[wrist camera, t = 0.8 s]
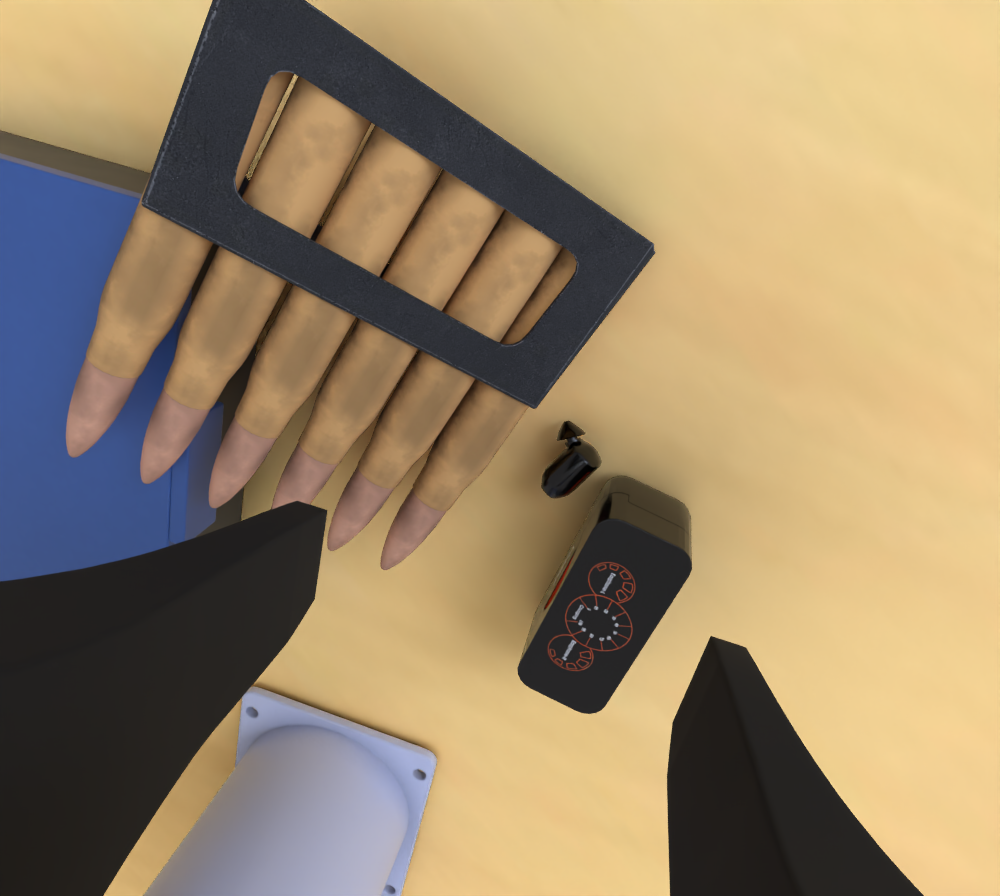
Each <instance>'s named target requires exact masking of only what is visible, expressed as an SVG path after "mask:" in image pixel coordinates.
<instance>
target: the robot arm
mask: <svg viewBox="0 0 1000 896" xmlns="http://www.w3.org/2000/svg"><path fill="white" fill-rule="evenodd" d="M326 516H327V510H325V509H321V508H318V507H315V506H312V505H309V504H306V503H303V502H300V501H294V502H291V503H288V504H285V505H282V506H279V507H277V508H274V509H271V510H269V511H266V512H263V513H261V514H258V515H256V516H253V517H250V518H248V519H245V520H243V521H240V522H237V523H234V524H232V525H229V526H226V527H224V528H221V529H218V530H216V531H213V532H210V533H207V534H205V535H202V536H199V537H196V538H192V539H189V540H186V541H183V542H180V543H177V544H174V545H171V546H168V547H165V548H161V549H158V550H155V551H152V552H148V553H145V554H141V555H138V556H134V557H130V558H126V559H122V560H118V561H114V562H109V563H105V564H101V565H97V566H92V567H87V568H82V569H77V570H71V571H65V572H59V573H53V574H47V575H41V576H35V577H29V578H23V579H16V580H8V581H0V896H103V895H104V893H105V892H106V890H107V889H108V887H109V885H110V884H111V882H112V881H113V879H114V877H115V876H116V874H117V872H118V871H119V869H120V868H121V866H122V864H123V863H124V861H125V860H126V858H127V856H128V855H129V853H130V852H131V850H132V849H133V847H134V845H135V844H136V842H137V841H138V839H139V838H140V836H141V835H142V833H143V832H144V830H145V829H146V827H147V825H148V824H149V822H150V821H151V819H152V818H153V816H154V815H155V813H156V812H157V810H158V809H159V807H160V805H161V804H162V802H163V801H164V799H165V798H166V797H167V795H168V794H169V792H170V791H171V789H172V788H173V786H174V785H175V783H176V782H177V780H178V779H179V777H180V776H181V774H182V773H183V772H184V770H185V769H186V767H187V766H188V764H189V763H190V761H191V760H192V758H193V757H194V755H195V754H196V753H197V751H198V750H199V749H200V748H201V746H202V745H203V744H204V742H205V741H206V740H207V738H208V737H209V736H210V735H211V733H212V732H213V731H214V730H215V728H216V727H217V726H218V725H219V724H220V723H221V721H222V720H223V719H224V718H225V717H226V715H227V714H228V713H229V712H230V711H231V709H232V708H233V707H234V706H235V705H236V704H237V702H238V701H239V700H240V699H241V698H242V704H241V714H240V724H239V733H238V743H237V753H236V762H235V769H234V770H233V771H232V773H231V774H230V776H229V777H228V778H227V780H226V781H225V783H224V784H223V785H222V787H221V788H220V789H219V791H218V792H217V794H216V795H215V796H214V798H213V799H212V801H211V802H210V803H209V805H208V806H207V808H206V809H205V810H204V812H203V813H202V814H201V816H200V817H199V819H198V820H197V821H196V823H195V824H194V826H193V827H192V828H191V830H190V831H189V833H188V834H187V835H186V837H185V838H184V839H183V841H182V842H181V844H180V845H179V846H178V848H177V849H176V851H175V852H174V853H173V855H172V856H171V857H170V859H169V860H168V862H167V863H166V864H165V866H164V867H163V869H162V870H161V871H160V873H159V874H158V876H157V877H156V878H155V880H154V881H153V882H152V884H151V885H150V887H149V888H148V889H147V891H146V892H145V894H144V895H143V896H401V894H402V890H403V886H404V883H405V879H406V875H407V872H408V868H409V864H410V861H411V857H412V853H413V850H414V846H415V842H416V838H417V835H418V831H419V827H420V824H421V820H422V816H423V813H424V809H425V805H426V802H427V798H428V794H429V790H430V787H431V783H432V779H433V776H434V772H435V768H436V765H437V758H436V756H435V755H434V754H433V753H432V752H431V751H429V750H428V749H425V748H422V747H420V746H417V745H414V744H411V743H409V742H406V741H403V740H401V739H398V738H395V737H392V736H390V735H387V734H384V733H382V732H379V731H376V730H373V729H371V728H368V727H365V726H363V725H360V724H357V723H354V722H352V721H349V720H346V719H344V718H341V717H338V716H335V715H333V714H330V713H327V712H325V711H322V710H319V709H316V708H314V707H311V706H308V705H306V704H303V703H300V702H297V701H295V700H292V699H289V698H287V697H284V696H281V695H278V694H276V693H273V692H270V691H268V690H265V689H262V688H259V687H251V686H252V685H253V683H254V682H255V681H256V680H257V679H258V677H259V676H260V675H261V674H262V673H263V671H264V670H265V669H266V668H267V667H268V665H269V664H270V663H271V662H272V661H273V659H274V658H275V657H276V656H277V655H278V653H279V652H280V651H281V650H282V648H283V647H284V646H285V645H286V643H287V642H288V641H289V639H290V638H291V636H292V635H293V633H294V631H295V630H296V628H297V627H298V625H299V624H300V622H301V621H302V619H303V617H304V616H305V614H306V612H307V611H308V609H309V607H310V606H311V604H312V603H313V601H314V599H315V593H316V586H317V579H318V572H319V565H320V558H321V551H322V544H323V537H324V530H325V523H326ZM242 696H243V697H242ZM254 708H255V709H254ZM420 770H422V771H423V772H421V771H420ZM667 797H668V837H669V872H670V896H924V895H923V894H922V893H921V892H920V891H919V890H918V889H917V888H916V887H915V886H914V885H913V884H912V883H911V882H910V880H909V879H908V878H907V877H906V876H905V875H904V874H903V873H902V872H901V871H900V870H899V868H898V867H897V866H896V865H895V864H894V863H893V862H892V861H891V859H890V858H889V857H888V856H887V855H886V854H885V853H884V851H883V850H882V849H881V848H880V847H879V845H878V844H877V843H876V842H875V840H874V839H873V838H872V837H871V836H870V834H869V833H868V832H867V831H866V829H865V828H864V827H863V826H862V824H861V823H860V822H859V821H858V820H857V818H856V817H855V816H854V815H853V813H852V812H851V811H850V809H849V808H848V807H847V805H846V804H845V803H844V802H843V800H842V799H841V798H840V796H839V795H838V794H837V792H836V791H835V789H834V788H833V786H832V785H831V784H830V782H829V781H828V779H827V778H826V776H825V775H824V774H823V772H822V771H821V769H820V768H819V767H818V765H817V764H816V762H815V761H814V759H813V758H812V756H811V755H810V753H809V752H808V750H807V749H806V747H805V746H804V744H803V743H802V741H801V739H800V738H799V736H798V735H797V733H796V731H795V730H794V728H793V727H792V725H791V723H790V722H789V720H788V719H787V717H786V715H785V714H784V712H783V710H782V709H781V707H780V705H779V704H778V702H777V700H776V698H775V697H774V695H773V693H772V692H771V690H770V688H769V686H768V685H767V683H766V681H765V679H764V678H763V676H762V674H761V672H760V671H759V669H758V667H757V665H756V664H755V662H754V660H753V659H752V657H751V655H750V654H749V652H748V650H747V649H746V647H743V646H740V645H737V644H734V643H731V642H728V641H724V640H721V639H718V638H715V637H712V636H711V637H710V639H709V641H708V644H707V646H706V648H705V650H704V653H703V655H702V657H701V659H700V662H699V664H698V666H697V669H696V671H695V673H694V675H693V678H692V680H691V682H690V684H689V687H688V689H687V691H686V693H685V696H684V698H683V700H682V703H681V705H680V707H679V709H678V712H677V714H676V716H675V718H674V721H673V725H672V734H671V743H670V751H669V762H668V773H667Z"/></svg>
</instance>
